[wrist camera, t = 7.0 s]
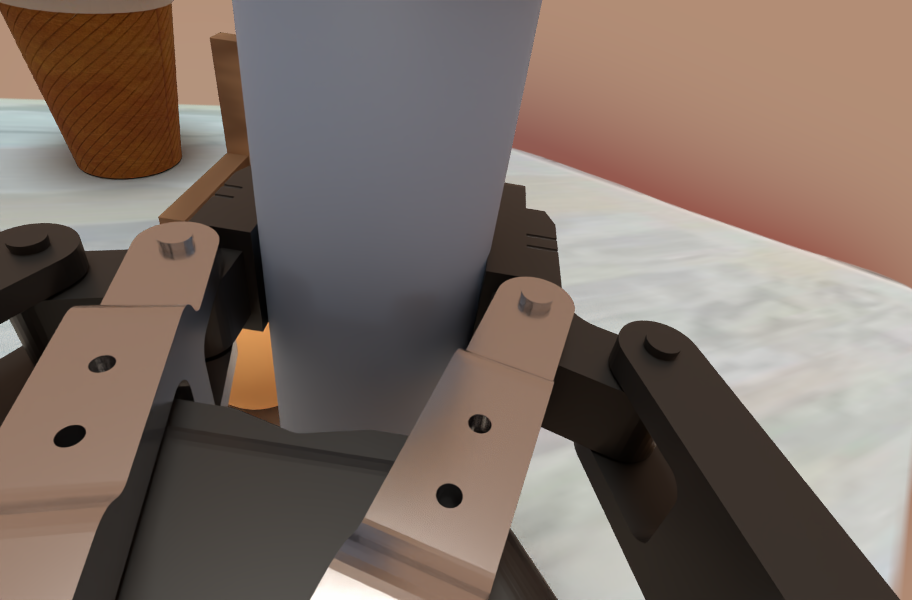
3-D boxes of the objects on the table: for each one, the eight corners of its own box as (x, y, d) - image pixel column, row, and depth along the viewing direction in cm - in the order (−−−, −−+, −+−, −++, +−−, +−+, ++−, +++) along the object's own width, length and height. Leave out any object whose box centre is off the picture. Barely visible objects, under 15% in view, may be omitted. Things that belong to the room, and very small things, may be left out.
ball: (177, 426, 21) (146, 329, 18) (232, 339, 25) (214, 247, 22) (306, 445, 21) (298, 351, 18) (340, 355, 25) (338, 265, 22)
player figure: (248, 555, 13) (-281, -1763, 2) (307, 405, 16) (241, -693, 6) (441, 585, 13) (979, -1502, 2) (458, 429, 16) (682, -612, 6)
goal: (176, 287, 27) (123, 81, 21) (244, 205, 34) (220, 32, 28) (437, 325, 27) (461, 132, 21) (453, 236, 34) (475, 70, 28)
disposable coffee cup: (21, 152, 36) (-66, -65, 28) (161, 121, 42) (120, -62, 35) (91, 207, 32) (11, -29, 24) (235, 164, 38) (206, -34, 31)
